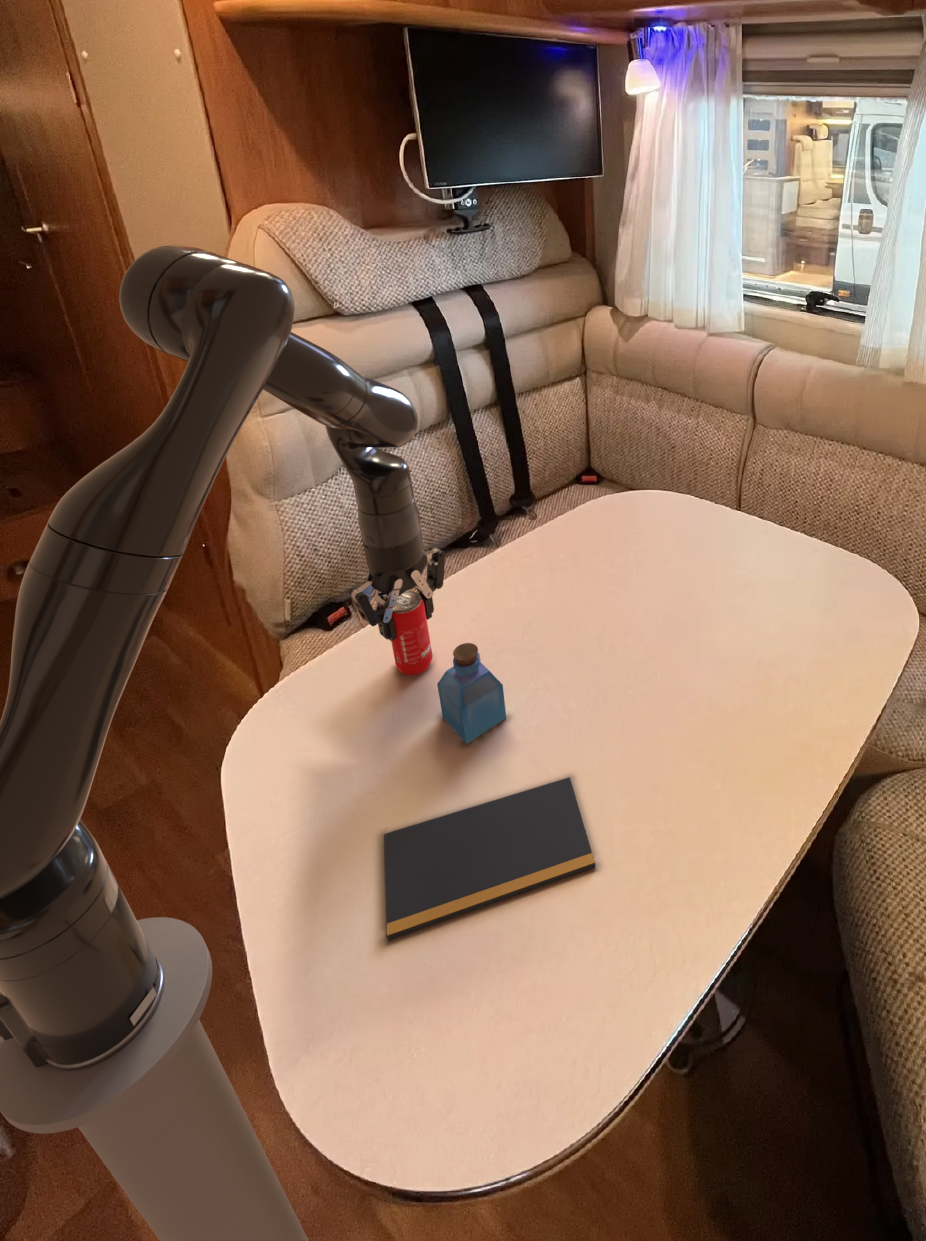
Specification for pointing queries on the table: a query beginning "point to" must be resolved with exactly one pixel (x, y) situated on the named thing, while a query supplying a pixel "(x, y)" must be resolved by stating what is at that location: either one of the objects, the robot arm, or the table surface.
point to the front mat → (483, 856)
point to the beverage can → (411, 635)
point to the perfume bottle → (470, 695)
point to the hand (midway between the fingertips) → (408, 626)
